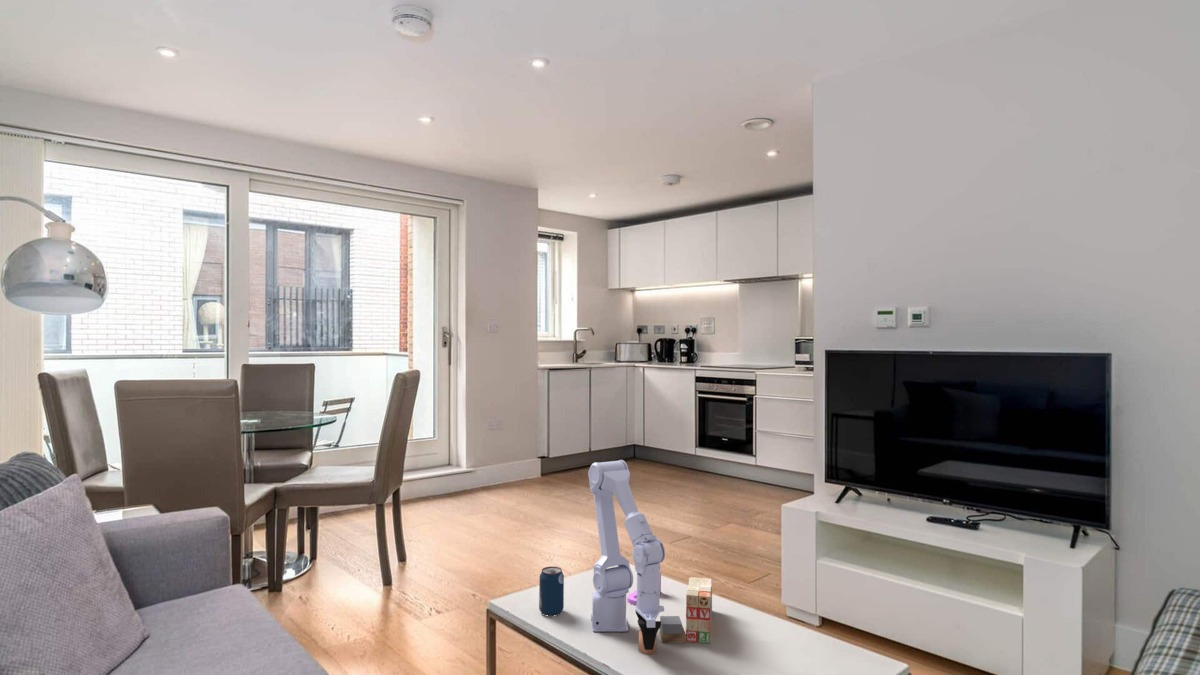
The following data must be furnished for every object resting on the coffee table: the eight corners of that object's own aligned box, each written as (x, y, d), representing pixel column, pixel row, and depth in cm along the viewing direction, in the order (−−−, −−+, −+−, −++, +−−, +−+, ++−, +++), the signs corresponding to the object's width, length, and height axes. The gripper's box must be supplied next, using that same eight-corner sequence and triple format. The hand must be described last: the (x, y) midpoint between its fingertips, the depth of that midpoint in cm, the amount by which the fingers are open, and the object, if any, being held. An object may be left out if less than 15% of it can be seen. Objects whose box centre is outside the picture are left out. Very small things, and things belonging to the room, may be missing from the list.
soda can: (568, 611, 183) (569, 569, 183) (551, 619, 177) (551, 576, 178) (551, 605, 187) (551, 564, 187) (533, 612, 182) (534, 570, 182)
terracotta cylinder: (639, 654, 158) (639, 636, 158) (638, 646, 162) (638, 628, 162) (657, 654, 158) (657, 636, 158) (655, 646, 162) (655, 628, 162)
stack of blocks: (690, 608, 186) (690, 566, 186) (712, 610, 185) (712, 567, 185) (685, 642, 165) (686, 593, 165) (710, 644, 164) (710, 595, 164)
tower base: (662, 644, 164) (662, 634, 164) (659, 634, 170) (659, 624, 170) (685, 644, 164) (685, 634, 164) (682, 634, 170) (682, 624, 170)
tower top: (662, 634, 165) (662, 624, 165) (660, 625, 170) (660, 616, 170) (682, 634, 165) (682, 624, 165) (679, 625, 170) (679, 616, 170)
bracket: (644, 589, 201) (645, 566, 201) (660, 593, 198) (661, 570, 198) (623, 602, 190) (624, 579, 190) (640, 607, 187) (640, 583, 187)
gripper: (668, 601, 153) (667, 658, 153) (660, 579, 168) (660, 631, 168) (638, 601, 153) (638, 658, 153) (633, 579, 168) (633, 631, 167)
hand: (647, 644), depth 160 cm, fingers closed on terracotta cylinder, 4 cm apart
